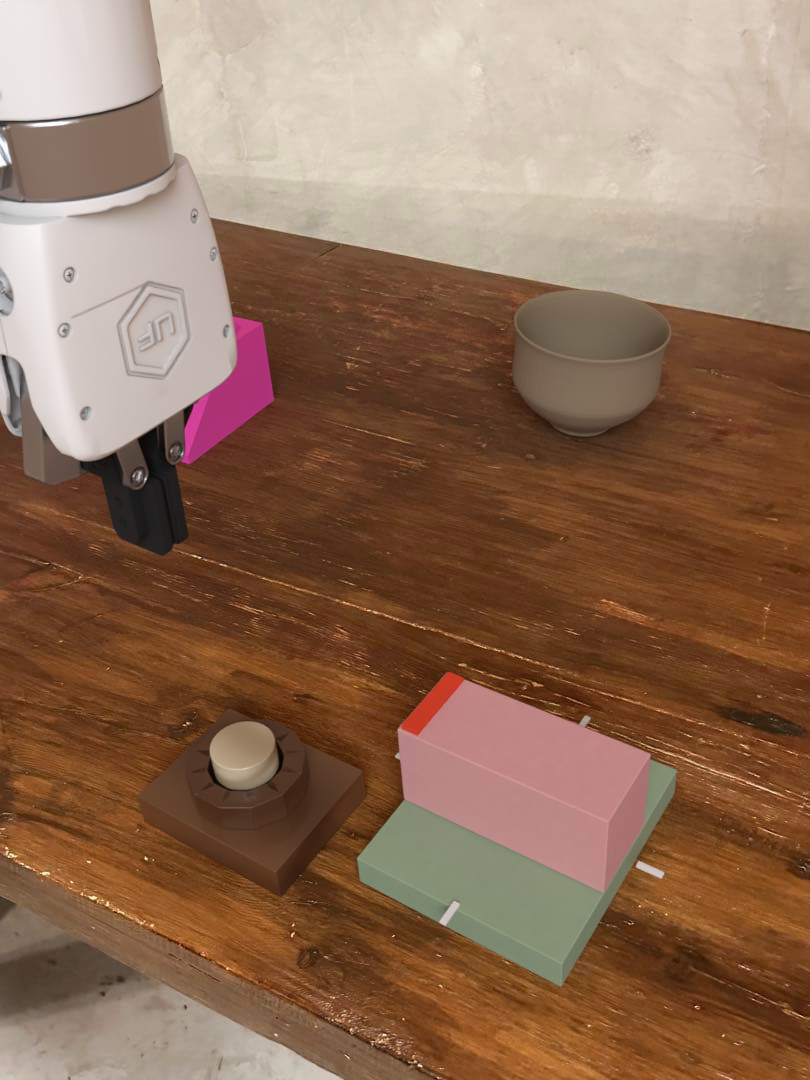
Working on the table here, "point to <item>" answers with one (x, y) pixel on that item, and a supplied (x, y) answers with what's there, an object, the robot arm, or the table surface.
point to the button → (244, 755)
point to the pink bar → (525, 779)
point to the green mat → (499, 883)
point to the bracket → (232, 394)
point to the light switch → (255, 807)
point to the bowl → (588, 358)
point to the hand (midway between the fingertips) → (153, 538)
